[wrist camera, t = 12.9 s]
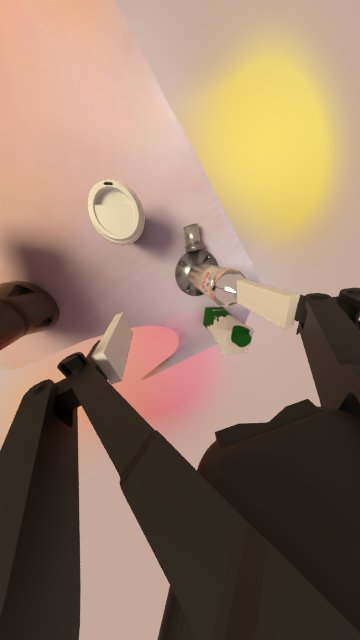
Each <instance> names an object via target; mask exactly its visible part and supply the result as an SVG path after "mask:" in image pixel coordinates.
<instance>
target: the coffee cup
mask: <svg viewBox="0 0 360 640" xmlns="http://www.w3.org/2000/svg"><path fill="white" fill-rule="evenodd" d="M88 212H89V216H90V219H91V221H92V223H93V225H94V227H95V228H96V230H97V231H98V232H99V234H100V235H101V236H102V237H104V238H105V239H106V240H108V241H109V242H111V243H114V244H117V245H129V244H132V243H133V242H135V241H137V240H139V238H140V237H141V235H142V232H143V229H144V224H145V216H144V210H143V207H142V204H141V202H140V200H139V198H138V197H137V195H136V194H135V193H134V192H133V190H132V189H130V188H129V187H128V186H127V185H125V184H124V183H122V182H120V181H117V180H113V179H106V180H102V181H100V182H98V183H97V184H95V185H94V186H93V188H92V189H91V191H90V193H89V197H88Z"/></svg>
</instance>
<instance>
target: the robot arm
mask: <svg viewBox="0 0 360 640" xmlns="http://www.w3.org/2000/svg"><path fill="white" fill-rule="evenodd" d="M237 303H238V304H240V305H242V306H244V307H245V308H247V309H249V310H251V311H253V312H255V313H256V314H258V315H260V316H262V317H263V318H265V319H267V320H268V321H271V322H272V323H274V324H276V325H277V326H279V327H281V328H283V329H288V328H291V327H293V325H294V320H296V321H299V325H298V329H297V335H298V333H300V334H301V338H302V341H303V345H304V348H305V351H306V355H307V358H308V362H309V365H310V368H311V372H312V375H313V379H314V382H315V386H316V389H317V392H318V395H319V399H320V403H321V407H316V406H315V405H314V404H313V403H312V402H311V401H310V400H308V399H306V400H303V401H300V402H298V403H295V404H292V405H289V406H287V407H285V408H284V409H283V410H282V411H281V412H279V413H278V414H277V415H276V416H275V417H274V418H273V419H272V420H271V421H270V422H267V423H249V424H237V425H234V426H231V427H228V428H225V429H223V430H220V431H217V432H215V435H216V441H215V442H214V443H213V444H212V445H211V446H210V447H209V448H208V449H207V451H206V452H205V454H204V455H203V457H202V459H201V461H200V463H199V466H198V469H197V470H195V468H194V467H193V466H191V464H190V463H189V462H188V461H187V460H186V459H185V458H184V457H183V456H181V454H180V453H179V452H178V451H177V450H176V449H175V448H174V447H173V446H172V445H171V444H170V443H169V442H168V441H167V440H166V439H165V438H164V437H163V436H162V435H161V434H160V433H159V432H158V431H155V430H154V429H153V428H152V427H151V426H150V425H149V424H148V423H147V422H146V421H145V420H144V419H143V418H142V417H141V416H140V415H139V414H138V412H136V410H134V408H133V407H132V406H131V405H130V404H129V403H128V402H127V401H126V400H125V399H124V398H123V397H122V396H121V395H120V394H119V393H118V392H117V391H116V390H115V389H114V388H113V387H112V385H111V384H113V383H117V382H120V381H122V378H123V373H124V369H125V364H126V361H127V356H128V352H129V348H130V343H131V339H132V335H133V333H132V331H131V328H130V326H129V324H128V322H127V320H126V318H125V316H124V314H123V313H120V314H116V315H115V317H114V319H113V320H112V322H111V324H110V325H109V327H108V329H107V330H106V332H105V334H104V336H103V338H102V339H101V340H99V341H98V342H97V343H96V344H95V345H94V346H93V347H92V350H91V351H90V353H89V354H88V355H87V357H86V358H85V356H84V355H83V354H82V353H81V352H78V353H74V354H72V355H70V356H68V357H66V358H65V359H63V360H62V361H61V362H60V363H59V365H58V367H57V368H58V369H59V370H60V371H61V372H62V373H63V374H64V375H65V376H66V378H65V379H63V380H61V381H60V382H57V383H54V382H53V381H52V380H49V379H48V380H44V381H42V382H40V383H38V384H36V385H34V386H33V387H32V388H30V389H29V391H28V392H27V393H26V394H25V395H24V396H23V398H22V401H21V403H20V405H19V408H18V410H17V412H16V415H15V417H14V420H13V422H12V424H11V427H10V429H9V431H8V434H7V436H6V439H5V441H4V443H3V446H2V448H1V450H0V640H79V628H80V532H79V480H78V479H79V478H78V420H77V407H79V406H81V405H82V407H83V409H84V411H85V413H86V414H87V416H88V418H89V420H90V422H91V424H92V425H93V427H94V429H95V431H96V433H97V435H98V437H99V438H100V440H101V442H102V444H103V446H104V448H105V449H106V451H107V453H108V455H109V457H110V459H111V460H112V462H113V464H114V466H115V468H116V469H117V472H118V473H119V476H120V486H121V489H122V491H123V494H124V496H125V498H126V500H127V502H128V503H129V505H130V507H131V509H132V511H133V513H134V515H135V517H136V519H137V521H138V523H139V525H140V527H141V529H142V531H143V533H144V535H145V537H146V538H147V541H148V543H149V544H150V546H151V548H152V550H153V552H154V554H155V556H156V558H157V560H158V562H159V564H160V566H161V568H162V570H163V572H164V574H165V576H166V578H167V580H168V582H169V584H170V588H169V593H168V597H167V601H166V605H165V610H164V614H163V618H162V623H161V627H160V632H159V636H158V640H360V321H359V320H358V319H359V317H360V288H349V289H342V290H341V291H340V293H339V296H338V297H331V296H329V295H327V294H321V293H313V294H307V295H306V296H303V295H300V294H297V293H294V292H290V291H287V290H282V289H279V288H275V287H271V286H267V285H264V284H260V283H257V282H253V281H249V280H245V279H241V280H237ZM58 317H59V309H58V306H57V304H56V302H55V301H54V299H53V298H52V297H51V296H50V295H49V294H48V293H47V292H46V291H44V290H43V289H41V288H39V287H37V286H35V285H33V284H30V283H27V282H21V281H12V282H6V283H2V284H0V350H2V349H3V348H5V347H6V346H8V345H10V344H11V343H13V342H14V341H16V340H18V339H19V338H21V337H22V336H24V335H28V334H32V333H36V332H40V331H43V330H46V329H48V328H49V327H51V326H52V325H54V324H55V323H56V321H57V320H58ZM107 379H108V380H109V382H110V383H111V384H110V383H109V382H108V381H107Z"/></svg>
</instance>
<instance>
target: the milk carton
mask: <svg viewBox="0 0 360 640" xmlns="http://www.w3.org/2000/svg"><path fill="white" fill-rule="evenodd" d="M203 325H204V326H205V327H206V328H207V329H208V330H209V332H210V333H211V334H212V336H213V337H214V339H215V340H216V342H217V344H218V346H219V348H220V351H221V353H222V355H229V354H240V353H247V350H248V347H249V345H250V342H251V338H252V335H253V332H254V329H252V328H250V327H248V326H246V325H244V324H242V323H241V322H239V321H238V320H237V319H235V318H234V317H233V316H232V315H230V314H229V313H228V312H227V311H226V310H225V309H224V308H223V307H213V308H205V315H204V322H203Z"/></svg>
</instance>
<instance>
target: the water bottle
mask: <svg viewBox="0 0 360 640" xmlns="http://www.w3.org/2000/svg"><path fill="white" fill-rule="evenodd" d="M188 279H189V281H190V283H191V284H192V285H194V286H195V287H196V288H197V289H199V290H200V291H201V292H203V293H204V294H206V295H207V296H208V297H210V298H211V299H212V300H213V301H214V302H215V303H216V304H218V305H220V306H225V307H226V306H232V305H234V304H236V303H237V280H241V279H245V280H246V278H245V276H244V275H243V274H242V273H241V272H240V271H238V270H235V269H226V268H221V267H218V266H213V265H208V264H202V263H197V264H194V265H193V266H191V268H190V269H189V271H188Z"/></svg>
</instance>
